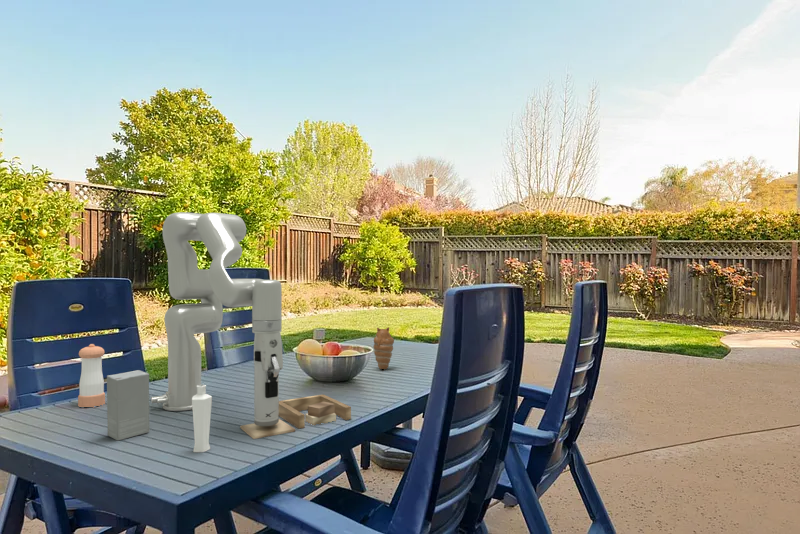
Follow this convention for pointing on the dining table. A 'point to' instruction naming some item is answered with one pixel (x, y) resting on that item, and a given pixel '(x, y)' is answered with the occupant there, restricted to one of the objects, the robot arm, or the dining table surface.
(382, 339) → the cat ice cream
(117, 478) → the dining table surface
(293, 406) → the frame
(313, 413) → the offcut upper
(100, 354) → the pepper shaker
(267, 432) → the cork mat
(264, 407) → the travel mug
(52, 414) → the dining table surface
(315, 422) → the offcut lower
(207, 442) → the perfume bottle
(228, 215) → the robot arm
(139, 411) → the skincare box
